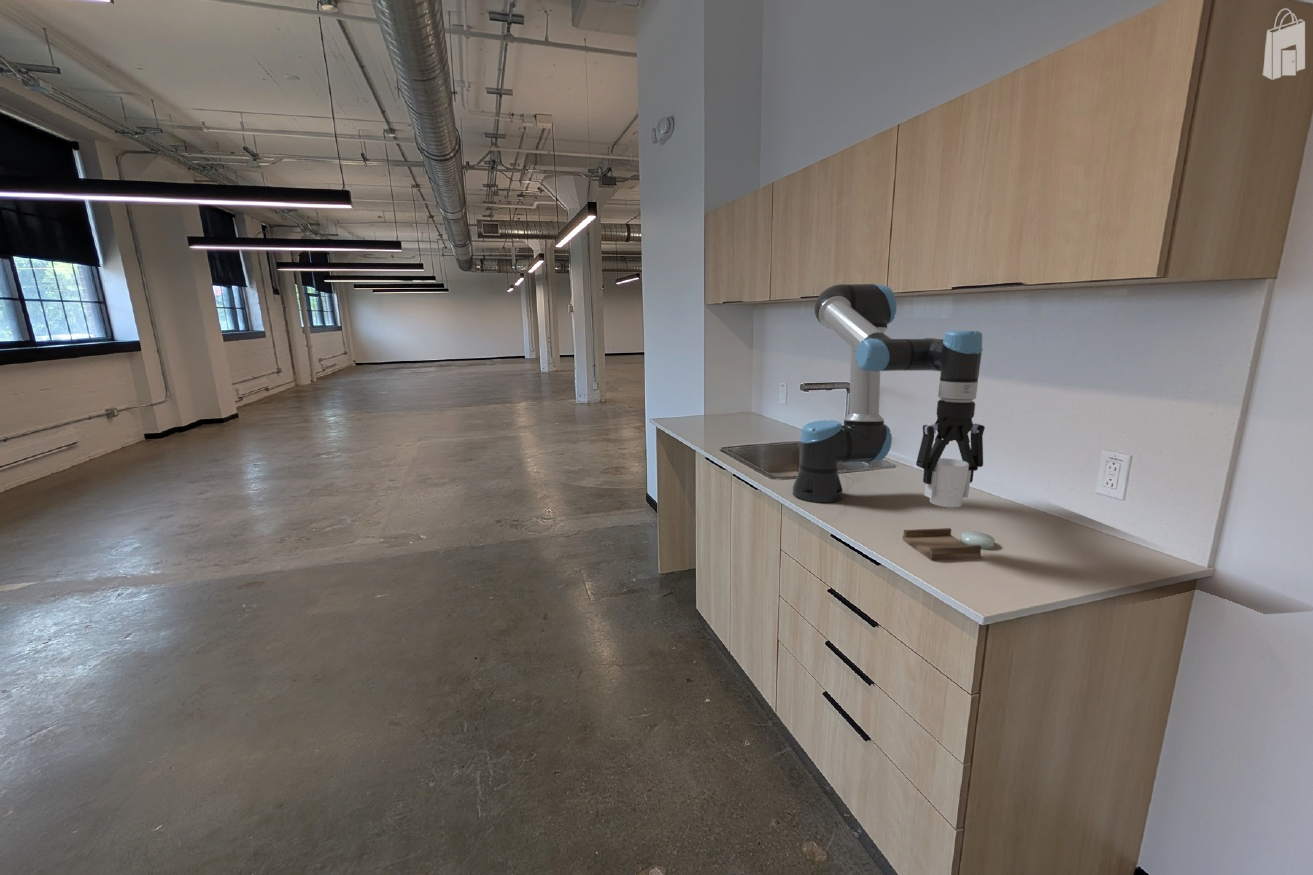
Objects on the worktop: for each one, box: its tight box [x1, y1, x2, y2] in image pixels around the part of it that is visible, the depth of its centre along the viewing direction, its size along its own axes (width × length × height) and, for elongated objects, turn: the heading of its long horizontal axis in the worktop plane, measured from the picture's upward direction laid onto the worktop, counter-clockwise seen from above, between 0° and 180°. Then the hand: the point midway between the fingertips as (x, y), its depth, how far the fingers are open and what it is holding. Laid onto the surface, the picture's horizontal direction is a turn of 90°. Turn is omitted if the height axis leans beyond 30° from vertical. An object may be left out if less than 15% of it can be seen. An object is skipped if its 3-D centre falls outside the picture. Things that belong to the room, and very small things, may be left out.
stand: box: [902, 527, 982, 561], centre depth 129 cm, size 12×12×3 cm
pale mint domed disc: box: [960, 530, 995, 550], centre depth 132 cm, size 7×7×2 cm
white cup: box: [929, 457, 969, 508], centre depth 126 cm, size 8×8×10 cm
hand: (946, 496), depth 127 cm, fingers closed on white cup, 8 cm apart
